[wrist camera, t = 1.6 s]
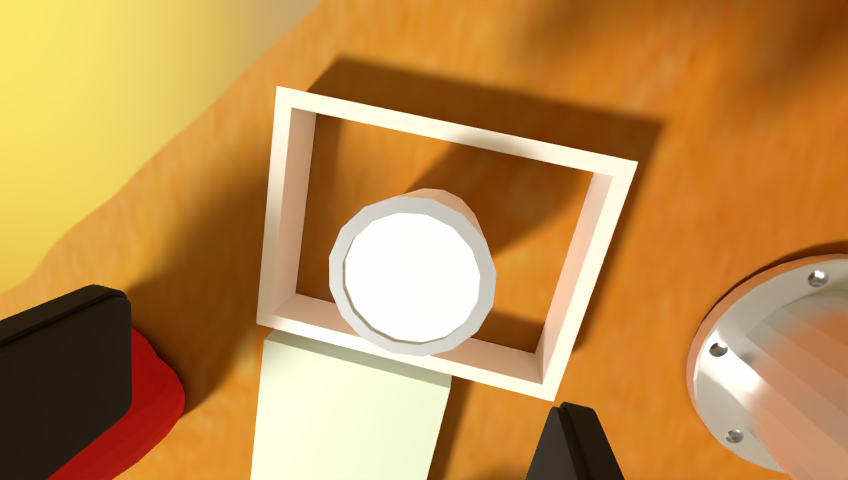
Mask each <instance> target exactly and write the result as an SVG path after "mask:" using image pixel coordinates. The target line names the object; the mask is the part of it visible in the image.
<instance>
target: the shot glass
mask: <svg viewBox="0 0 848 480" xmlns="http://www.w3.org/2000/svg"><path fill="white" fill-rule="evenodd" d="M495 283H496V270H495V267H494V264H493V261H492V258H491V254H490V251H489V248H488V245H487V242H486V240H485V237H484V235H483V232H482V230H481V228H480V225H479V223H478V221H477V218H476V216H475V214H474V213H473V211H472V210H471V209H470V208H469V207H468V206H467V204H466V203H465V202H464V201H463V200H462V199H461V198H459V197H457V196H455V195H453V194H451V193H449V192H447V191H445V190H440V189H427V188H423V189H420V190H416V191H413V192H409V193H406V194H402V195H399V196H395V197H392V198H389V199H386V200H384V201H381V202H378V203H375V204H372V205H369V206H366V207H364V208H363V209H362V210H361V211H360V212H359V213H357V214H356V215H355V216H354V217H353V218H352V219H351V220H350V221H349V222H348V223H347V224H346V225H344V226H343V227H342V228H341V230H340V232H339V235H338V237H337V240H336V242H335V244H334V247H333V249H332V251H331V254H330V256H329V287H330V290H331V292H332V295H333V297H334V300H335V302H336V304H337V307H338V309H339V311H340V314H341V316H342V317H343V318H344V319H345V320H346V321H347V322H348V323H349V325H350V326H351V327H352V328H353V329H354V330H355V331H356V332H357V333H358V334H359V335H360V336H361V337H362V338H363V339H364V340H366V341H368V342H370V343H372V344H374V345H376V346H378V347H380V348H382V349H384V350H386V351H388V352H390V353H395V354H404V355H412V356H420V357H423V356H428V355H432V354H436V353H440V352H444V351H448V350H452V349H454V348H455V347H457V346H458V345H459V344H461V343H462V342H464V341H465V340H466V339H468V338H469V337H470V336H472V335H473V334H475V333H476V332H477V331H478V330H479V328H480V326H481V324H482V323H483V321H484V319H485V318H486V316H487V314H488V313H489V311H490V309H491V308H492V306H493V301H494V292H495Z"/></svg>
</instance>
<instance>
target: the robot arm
mask: <svg viewBox="0 0 848 480" xmlns="http://www.w3.org/2000/svg"><path fill="white" fill-rule="evenodd" d="M686 382H687V387H688V392H689V397H690V400H691V402H692V404H693V406H694V408H695V410H696V412H697V415H698V416H699V417H700V419H701V420H702V421H703V423H704V424H705V425H706V427H707V428H708V429H709V431H710V432H711V433H712V434H713V436H714V437H715V438H716V439H717V440H718V441H719V442H720V443H721V444H722V445H723V446H724V447H726V448H727V449H729V450H730V451H732V452H733V453H735V454H736V455H738V456H739V457H741V458H742V459H744V460H747V461H749V462H751V463H753V464H756V465H758V466H760V467H763V468H766V469H770V470H774V471H778V472H782V473H786V474H787V475H788V476H789V477H790V478H791V479H792V480H848V254H839V253H836V254H827V255H818V256H809V257H805V258H801V259H798V260H794V261H790V262H787V263H783V264H780V265H778V266H775V267H773V268H771V269H769V270H766V271H764V272H762V273H759V274H757V275H755V276H754V277H752V278H751V279H749V280H747V281H746V282H744V283H743V284H741V285H740V286H738V287H736V288H735V289H734V290H733V291H731V292H730V293H729V294H728V295H727V296H726V297H725V298H724V299H722V300H721V301H720V302H719V303H718V304H717V305H716V306H715V307H714V308H713V310H712V311H711V312H710V313H709V315H708V316H707V317H706V318H705V320H704V321H703V322H702V324H701V326H700V328H699V330H698V332H697V333H696V335H695V337H694V339H693V341H692V344H691V348H690V351H689V355H688V359H687V369H686ZM131 404H132V341H131V304H130V302H129V300H127V298H126V295H125V294H124V292H122V291H120V290H116V289H112V288H108V287H104V286H100V285H94V284H93V285H89V286H86V287H83V288H81V289H78V290H76V291H73V292H71V293H68V294H66V295H63V296H61V297H58V298H56V299H53V300H51V301H48V302H46V303H43V304H41V305H38V306H36V307H33V308H31V309H28V310H26V311H23V312H21V313H18V314H16V315H13V316H11V317H8V318H6V319H3V320H1V321H0V480H47V479H48V478H49V477H50V476H51V475H53V474H54V473H55V472H56V471H58V470H59V469H60V468H61V467H63V466H64V465H65V464H66V463H67V462H69V461H70V460H71V459H72V458H74V457H75V456H76V455H77V454H78V453H80V452H81V451H82V450H83V449H85V448H86V447H87V446H88V445H89V444H91V443H92V442H93V441H94V440H96V439H97V438H98V437H99V436H100V435H102V434H103V433H104V432H105V431H107V430H108V429H109V428H110V427H112V426H113V425H114V424H115V423H116V422H118V421H119V420H120V419H121V418H122V417H123V416H124V415H125V414H126V413H127V412H128V410H129V408H130V406H131ZM525 480H625V479H624V477H623V475H622V472H621V470H620V468H619V465H618V463H617V461H616V458H615V456H614V454H613V451H612V449H611V447H610V445H609V442H608V440H607V438H606V435H605V433H604V431H603V428H602V426H601V424H600V422H599V419H598V417H597V415H596V413H595V411H594V410H593V409H592V408H588V407H584V406H580V405H576V404H572V403H568V402H563V403H562V404H561V405H560V407H559V408H558V407H552V408H551V410H550V412H549V415H548V418H547V420H546V423H545V426H544V429H543V432H542V434H541V437H540V440H539V443H538V446H537V449H536V451H535V454H534V457H533V460H532V463H531V465H530V468H529V471H528V474H527V477H526V479H525Z"/></svg>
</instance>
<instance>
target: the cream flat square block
mask: <svg viewBox="0 0 848 480" xmlns="http://www.w3.org/2000/svg"><path fill="white" fill-rule="evenodd" d="M451 378H452V375H450V374H446V373H442V372H438V371H435V370H431V369H427V368H423V367H419V366H416V365H412V364H408V363H404V362H400V361H396V360H393V359H389V358H385V357H381V356H377V355H374V354H370V353H366V352H362V351H358V350H355V349H351V348H347V347H343V346H339V345H335V344H332V343H328V342H324V341H320V340H316V339H313V338H309V337H305V336H301V335H297V334H293V333H290V332H286V331H282V330H278V329H274V330H273V331H272V332H271V333H270V334H269V335H268V336H267V337H266V338H265V339H264V346H263V356H262V366H261V377H260V387H259V398H258V408H257V419H256V429H255V440H254V450H253V460H252V471H251V480H427V476H428V472H429V468H430V464H431V460H432V457H433V453H434V449H435V445H436V441H437V437H438V434H439V430H440V426H441V422H442V418H443V414H444V411H445V407H446V403H447V399H448V395H449V391H450V387H451Z"/></svg>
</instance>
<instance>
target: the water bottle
mask: <svg viewBox="0 0 848 480" xmlns="http://www.w3.org/2000/svg"><path fill="white" fill-rule="evenodd" d="M131 341H132V404H131V406H130V408H129V410H128V412H127V413H126V414H125V415H124V416H123V417H122V418H121V419H120V420H119V421H118V422H116V423H115V424H114V425H113V426H112V427H110V428H109V429H108V430H107V431H105V432H104V433H103V434H102V435H100V436H99V437H98V438H97V439H96V440H94V441H93V442H92V443H91V444H89V445H88V446H87V447H86V448H85V449H83V450H82V451H81V452H80V453H78V454H77V455H76V456H75V457H74V458H72V459H71V460H70V461H69V462H67V463H66V464H65V465H64V466H63V467H61V468H60V469H59V470H58V471H56V472H55V473H54V474H53V475H51V476H50V477H49V478H48V479H47V480H112V479H114V478H115V477H117V476H118V475H120V474H121V473H123V472H124V471H126V470H127V469H129V468H130V467H131V466H133V465H134V464H136V463H137V462H138V461H139V460H140V459H142V458H143V457H144V456H145V455H146V454H147V453H148V452H149V451H150V450H151V449H153V448H154V447H155V446H156V445H157V444H158V443H159V442H160V441H161V440H162V439H164V438H165V437H166V436H167V434H168V433H169V432H170V430H171V429H172V428H173V426H174V425H175V424H176V422H177V420H178V419H179V417H180V416H181V414H182V412H183V411H184V404H185V392H184V389H183V386H182V383H181V382H180V380H179V379H178V377H177V375H176V374H175V372H174V370H173V369H172V368H170V367H169V366H168V365H167V364H166V363H165V362H164V361H162V360H161V359H160V358H159V357H158V356H157V354H156V353H155V351H154V350H153V348H152V347H151V345H150V344H149V342H148V341H147V339H145V338H144V337H143V336H142V335H141V334H140V333H138V332H137V331H136V330H134V329H132V328H131Z"/></svg>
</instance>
